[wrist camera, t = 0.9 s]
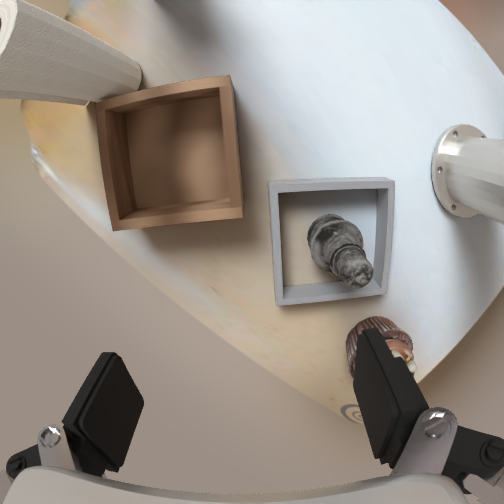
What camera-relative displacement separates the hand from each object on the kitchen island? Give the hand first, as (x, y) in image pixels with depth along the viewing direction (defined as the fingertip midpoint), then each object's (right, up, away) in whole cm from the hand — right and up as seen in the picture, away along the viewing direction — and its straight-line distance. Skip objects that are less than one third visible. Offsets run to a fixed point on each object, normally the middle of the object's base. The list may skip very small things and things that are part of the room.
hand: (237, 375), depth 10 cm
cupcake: (+18, -8, +29) cm, 35 cm away
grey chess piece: (+10, +6, +23) cm, 26 cm away
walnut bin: (-7, +15, +20) cm, 26 cm away
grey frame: (+10, +6, +23) cm, 26 cm away
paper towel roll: (-15, +24, +16) cm, 33 cm away
